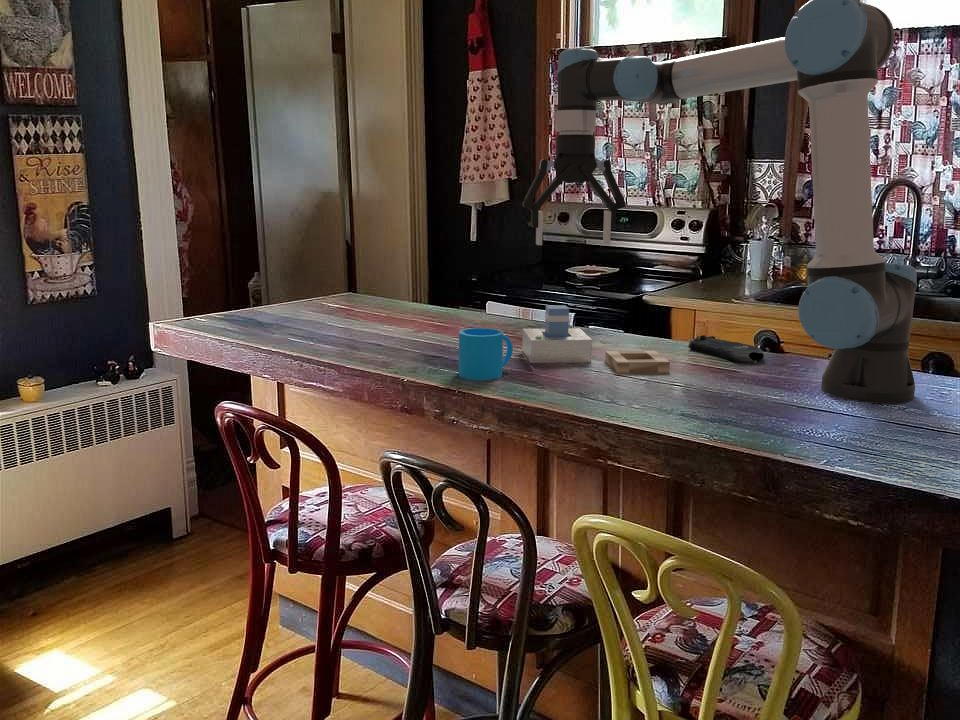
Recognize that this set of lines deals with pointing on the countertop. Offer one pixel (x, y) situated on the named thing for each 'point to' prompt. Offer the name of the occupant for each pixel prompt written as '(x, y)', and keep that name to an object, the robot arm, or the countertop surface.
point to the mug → (482, 353)
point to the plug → (556, 321)
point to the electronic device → (726, 349)
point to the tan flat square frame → (637, 362)
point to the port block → (556, 347)
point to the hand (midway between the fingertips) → (572, 244)
